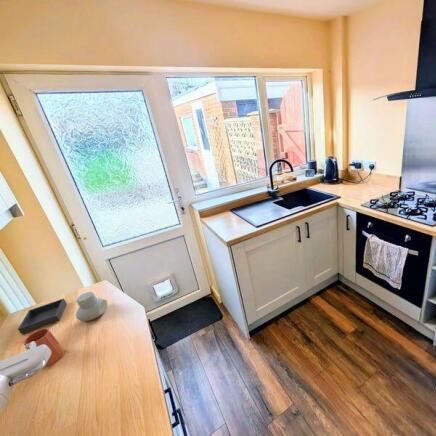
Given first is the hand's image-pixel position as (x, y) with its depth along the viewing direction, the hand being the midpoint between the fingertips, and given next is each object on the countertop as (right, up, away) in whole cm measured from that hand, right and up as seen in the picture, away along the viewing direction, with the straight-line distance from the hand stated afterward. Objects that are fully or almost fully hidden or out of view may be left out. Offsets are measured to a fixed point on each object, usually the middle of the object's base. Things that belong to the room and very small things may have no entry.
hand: (10, 352), depth 70 cm
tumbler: (-4, -11, +17) cm, 21 cm away
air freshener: (-3, -3, +35) cm, 35 cm away
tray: (-26, -5, +36) cm, 45 cm away
